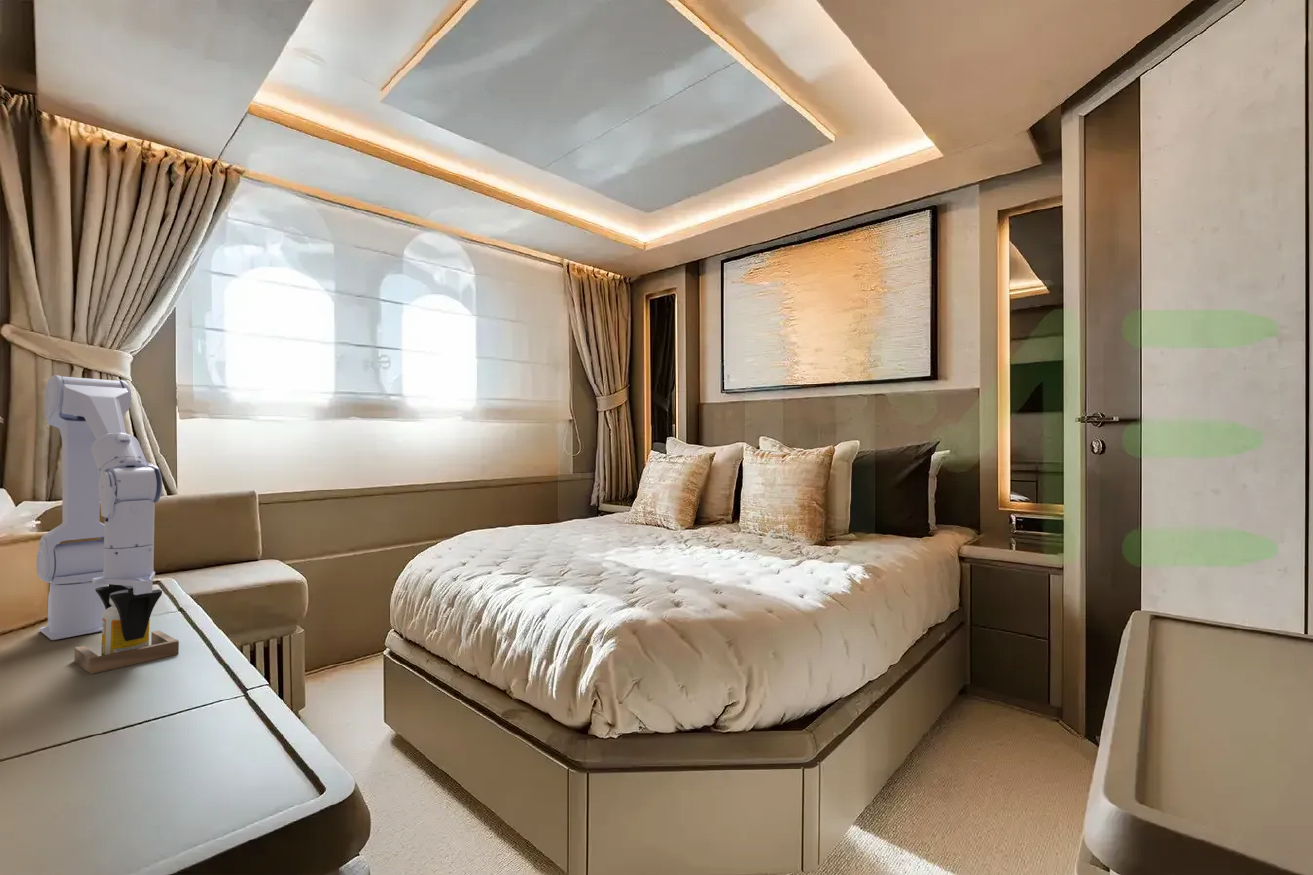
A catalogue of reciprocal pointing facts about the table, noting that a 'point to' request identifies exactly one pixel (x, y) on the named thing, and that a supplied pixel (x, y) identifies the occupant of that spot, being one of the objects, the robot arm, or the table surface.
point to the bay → (127, 654)
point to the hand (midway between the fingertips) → (127, 634)
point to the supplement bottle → (118, 632)
